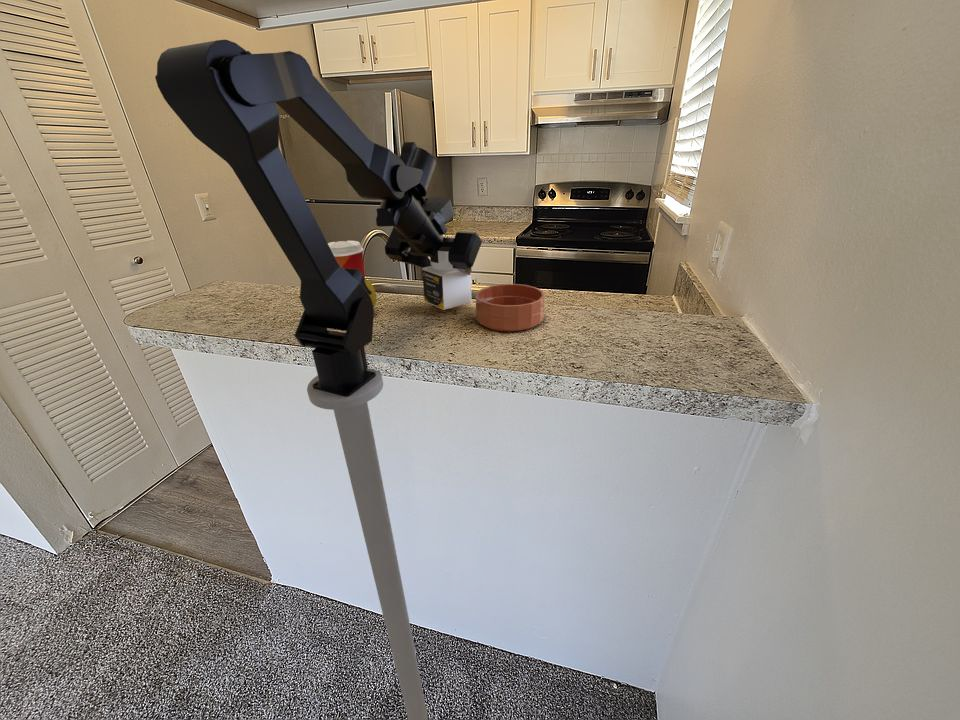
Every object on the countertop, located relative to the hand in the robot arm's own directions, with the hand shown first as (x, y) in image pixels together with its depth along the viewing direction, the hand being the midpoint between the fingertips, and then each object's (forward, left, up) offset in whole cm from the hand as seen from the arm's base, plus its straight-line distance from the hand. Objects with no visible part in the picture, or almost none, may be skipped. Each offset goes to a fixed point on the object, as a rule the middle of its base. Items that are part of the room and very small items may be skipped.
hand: (450, 270), depth 81 cm
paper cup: (-12, +16, 0) cm, 20 cm away
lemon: (-11, +14, -8) cm, 20 cm away
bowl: (-3, -14, -7) cm, 16 cm away
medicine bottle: (-1, 0, -6) cm, 7 cm away
